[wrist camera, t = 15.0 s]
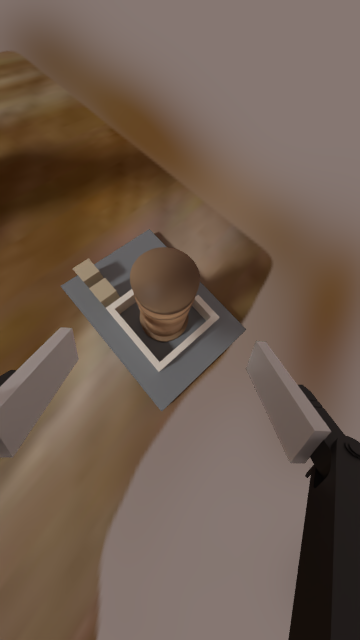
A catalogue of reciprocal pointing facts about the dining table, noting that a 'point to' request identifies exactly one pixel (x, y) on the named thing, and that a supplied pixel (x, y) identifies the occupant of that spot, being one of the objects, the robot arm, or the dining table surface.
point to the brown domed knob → (164, 291)
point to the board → (128, 335)
